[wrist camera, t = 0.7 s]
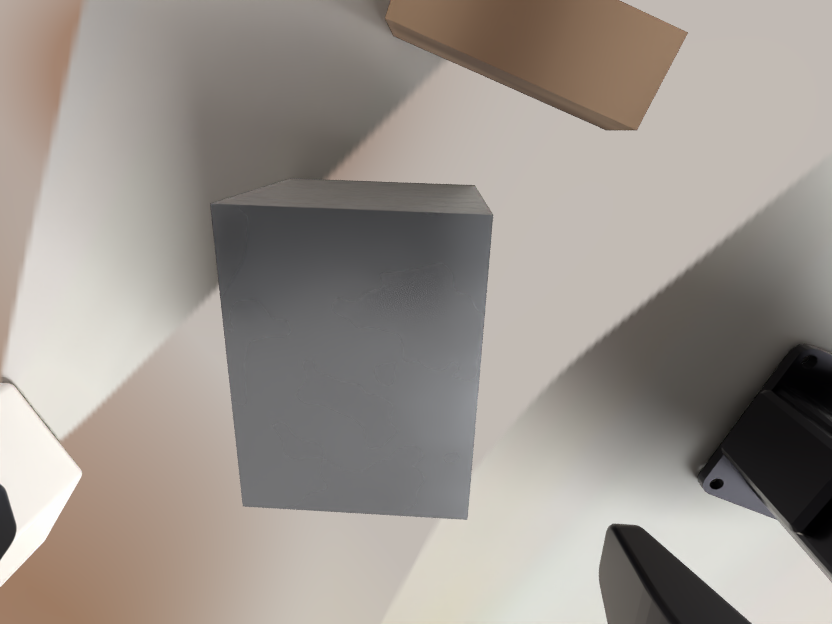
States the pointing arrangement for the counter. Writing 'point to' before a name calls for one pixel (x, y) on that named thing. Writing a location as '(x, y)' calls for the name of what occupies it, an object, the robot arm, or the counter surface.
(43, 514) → the jar
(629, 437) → the counter surface
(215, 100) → the counter surface
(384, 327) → the gray rectangular block
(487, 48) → the brown rectangular block
